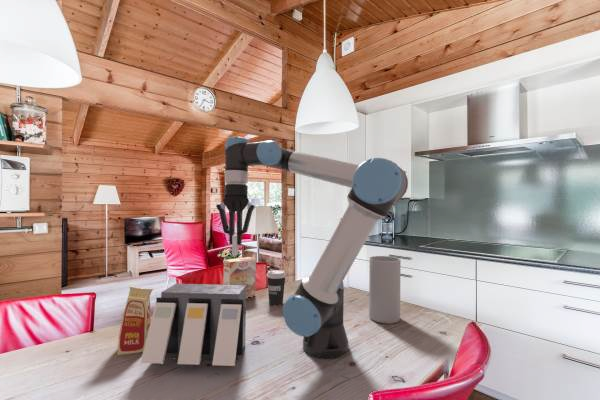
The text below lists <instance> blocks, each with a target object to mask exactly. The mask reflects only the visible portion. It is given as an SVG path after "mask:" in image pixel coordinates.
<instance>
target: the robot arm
mask: <svg viewBox="0 0 600 400" xmlns="http://www.w3.org/2000/svg"><path fill="white" fill-rule="evenodd" d="M224 159H225V162H224V163H225V164H224V165H225V166H224V167H225V168H224V183H225V185H224V198H223V199H222V202H221V203H219V204H216V206H215V207H216V209H217V211H219V216H220V221H221V225H222V230H223V232H224V234H227V235H228V236H229V237H228V239H229V242H228V244H229V245H230V246H231V247H232V248H231V255H232V256H238V255H239V253H240V252H239V251H240V250H239V249H240V248H239V247H240V246H241V245H242V239H243V235H244V234H246V233H248V230H249V226H250V222H251V219H252V214H253V212H254V210H255V208H256V205H255V204H252V203H251V202H250V201H249V197H248V189H249V188H248V185H247V184H248V182H249V179H248V177H249V175H248V172H249V167H251V166H252V167H254V166H260V167H261V166H264V167H266V168H267V167H268V168H272V169H273V168H274V169H277V170H280V171H284V172H285V171H286V172H289V173H293V174H298V175H300V176H305V177H308V178H312V179H316V180H321V181H324V182H327V183H331V184H336V185H339V186H343V187H347V188H351V189H350V190H349V193H348V194H347V196H346V198H347V202H348V206H347V208H346V210H345V212H344V213H343V215H342V217H341V218H340V221H339V222H338V224H337V226H336V228H335V230H334V231H333V234H332V236H331V237H330V239H329V241H328V243H327V245H326V246H325V249H324V250H323V252H322V254H321V256H320V258H319V259H318V261H317V263H316V265H315V267H314V269H313V270H312V273H311V274H310V275H309V276H305V277H303V278H302V280H301V282H300V283H299V285H298V287H297V288H296V290H295V292H294V293H293V294H292V295H290V296H289V297H288V298H287V299H286V300H285V302H284V303H283V307H282V315H283V319H284V322H285V324H286V326H287V328H288V329H289V330H290V331H291V332H293V333H294V334H295V335H297V336H300V337H303V338H302V348H303V350H304V352H306V353H307V354H308V355H311V356H313V357H316V358H320V359H322V358H323V359H334V358H339V357H341V356H345V354H347V353H348V352H349V339H348V336H347V333H346V332H347V331H346V329H345V326H344V305H345V304H344V301H345V299H344V298H345V296H344V294H345V293H344V291H345V289H344V288H345V287H344V280H345V277H346V276H347V275H348V272H350V269H351V268H352V266H353V264H354V262H355V261H356V259H357V256H358V255H359V253H360V252H361V250H362V248H363V246H364V244H365V243H366V241H367V239H368V238H369V236H370V235H371V233H372V230H373V229H374V228H375V225H376V224H377V222H378V221H379V220H382V219H385V218H387V216H388V215H389V213H390V211H391V209H392V208H393V206H394V205H395V203H396V202H398V201H399V200H401V199H402V198H403V197H404V196H405V194H406V193H407V190H408V186H409V179H408V176H407V174H406V173H405V171H404V170H403V168H401V167H400V166H399V165H398V164H397V163H396V162H393V160H389V159H387V158H383V157H373V158H369V159H366V160H365V161H363V162H362V163H360V164H355V163H352V162H346V161H343V160H342V161H341V160H338V159H332V158H328V157H323V156H319V155H313V154H311V153H304V152H300V151H295V150H292V149H287V148H283V147H281V145H280V144H279V143H278V142H277V141H276V140H263V141H262V140H261V141H256V142H249V140H248V139H247V137H246V138H245V137H243V136H242V137H241V136H231V137H227V138H226V140H225V149H224ZM246 208H247V211H246V216H245V219H244V223H243V213H244V210H245V209H246ZM225 209H227V210H228V215H229V216H228V217H229V218H228V217H227V214H226V211H225ZM235 216H236V217H235ZM227 218H228V219H229V221H228V219H227ZM235 220H236V221H235ZM235 224H236V229H235ZM235 230H236V232H235ZM235 233H236V234H235Z"/></svg>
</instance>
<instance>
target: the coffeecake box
mask: <svg viewBox="0 0 600 400" xmlns="http://www.w3.org/2000/svg"><path fill="white" fill-rule="evenodd" d="M256 266H257V259H256V258H254V257H252V256H245V257H239V258H238V257H237V258H229V259H224V260H223V282H222V285H246V298H247V297H251V298H253V297H252V296H255V297H256V283H257V280H256V276H257V275H256V273H257V267H256ZM247 299H248V298H247Z"/></svg>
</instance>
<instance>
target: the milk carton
mask: <svg viewBox="0 0 600 400" xmlns="http://www.w3.org/2000/svg"><path fill="white" fill-rule="evenodd" d="M128 288H129V293H128V295H127V300H126V303H125V307H124V309H123V313H122V318H121V323H120V327H119V328H120V329H119V335H118V343H117V356H119V355H131V354H138V353H143V352H144V348H145V344H146V340H147V335H148V331H149V327H150V323H151V319H152V314H151V296H150V295H151V293H152V291H153V290H154V288H141V287H136V286H132V285H129V287H128Z"/></svg>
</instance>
